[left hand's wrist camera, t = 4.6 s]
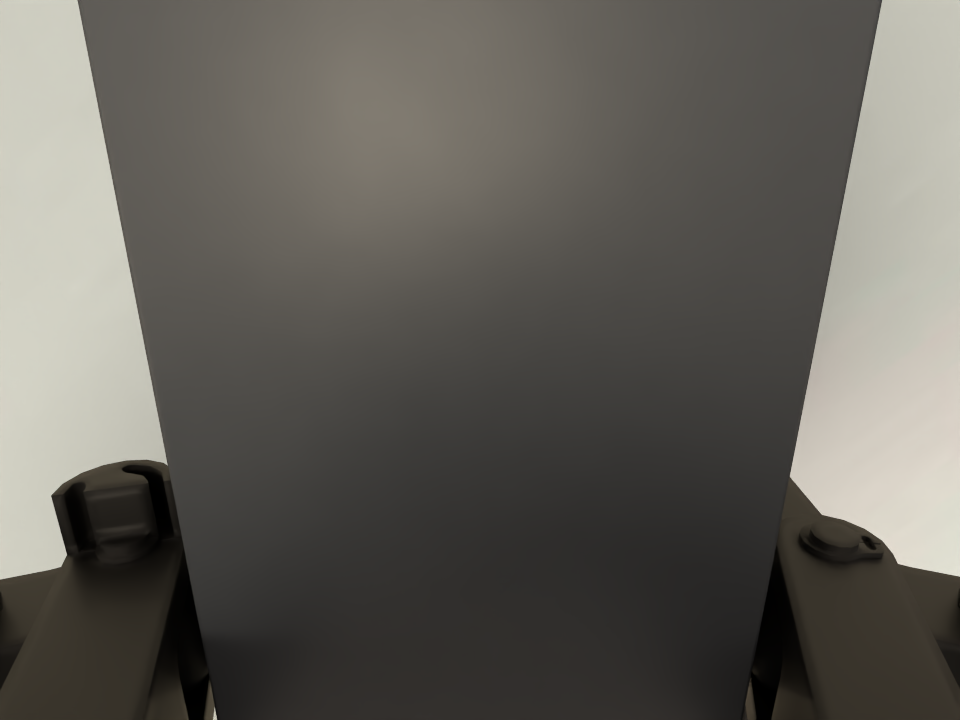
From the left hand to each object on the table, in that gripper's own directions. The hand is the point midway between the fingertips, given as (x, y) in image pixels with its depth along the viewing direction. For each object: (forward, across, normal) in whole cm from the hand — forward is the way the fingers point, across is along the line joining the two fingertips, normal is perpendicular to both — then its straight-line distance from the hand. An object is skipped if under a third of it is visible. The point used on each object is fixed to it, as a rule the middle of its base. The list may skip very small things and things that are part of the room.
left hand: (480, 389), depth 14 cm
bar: (0, 0, -8) cm, 8 cm away
